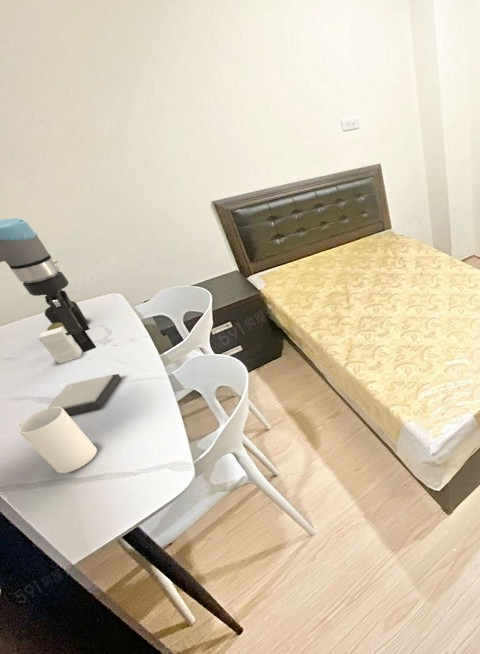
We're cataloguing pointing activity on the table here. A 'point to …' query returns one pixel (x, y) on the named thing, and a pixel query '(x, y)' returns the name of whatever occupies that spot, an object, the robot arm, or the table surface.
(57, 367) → the table surface
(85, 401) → the scale
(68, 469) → the cup
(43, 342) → the cosmetic box
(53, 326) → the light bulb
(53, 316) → the pen holder
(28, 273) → the robot arm
